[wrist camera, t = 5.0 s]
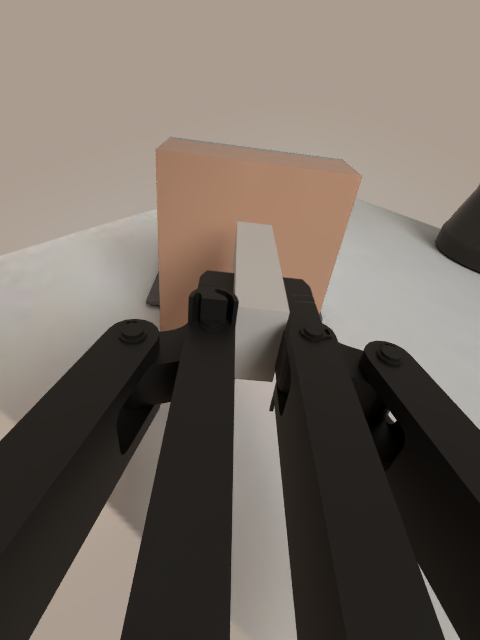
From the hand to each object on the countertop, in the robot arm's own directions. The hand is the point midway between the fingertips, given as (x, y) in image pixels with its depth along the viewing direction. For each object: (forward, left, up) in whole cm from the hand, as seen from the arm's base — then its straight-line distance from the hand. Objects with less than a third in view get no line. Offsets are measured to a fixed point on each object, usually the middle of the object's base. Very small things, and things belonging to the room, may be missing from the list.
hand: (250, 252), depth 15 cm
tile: (-6, 0, -9) cm, 10 cm away
